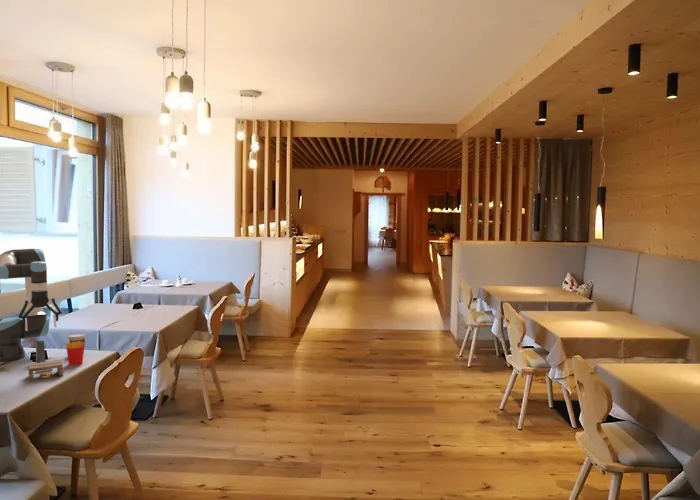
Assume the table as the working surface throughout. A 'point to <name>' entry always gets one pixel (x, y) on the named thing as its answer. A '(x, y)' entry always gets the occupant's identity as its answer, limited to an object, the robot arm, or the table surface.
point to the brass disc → (45, 375)
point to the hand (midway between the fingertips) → (41, 328)
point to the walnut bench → (45, 367)
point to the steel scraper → (40, 354)
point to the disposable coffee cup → (77, 338)
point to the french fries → (75, 353)
